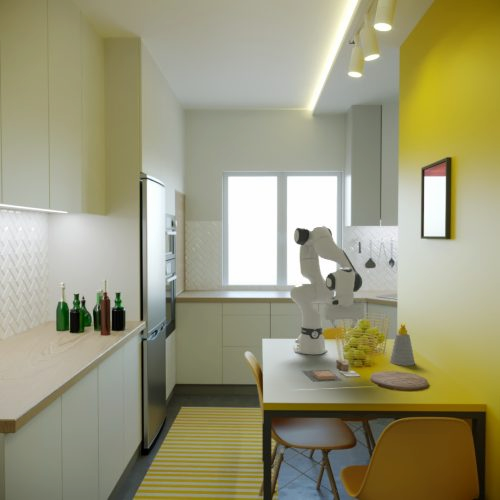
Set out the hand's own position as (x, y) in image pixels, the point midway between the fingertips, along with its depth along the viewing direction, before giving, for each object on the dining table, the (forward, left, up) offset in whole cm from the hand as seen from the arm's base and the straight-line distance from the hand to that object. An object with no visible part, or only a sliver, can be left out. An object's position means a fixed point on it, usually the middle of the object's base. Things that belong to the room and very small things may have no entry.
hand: (343, 328), depth 237 cm
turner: (+6, -1, -21) cm, 21 cm away
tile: (+10, -15, -19) cm, 26 cm away
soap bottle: (-8, +36, -21) cm, 42 cm away
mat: (+11, -15, -20) cm, 27 cm away
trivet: (+24, +17, -21) cm, 36 cm away
